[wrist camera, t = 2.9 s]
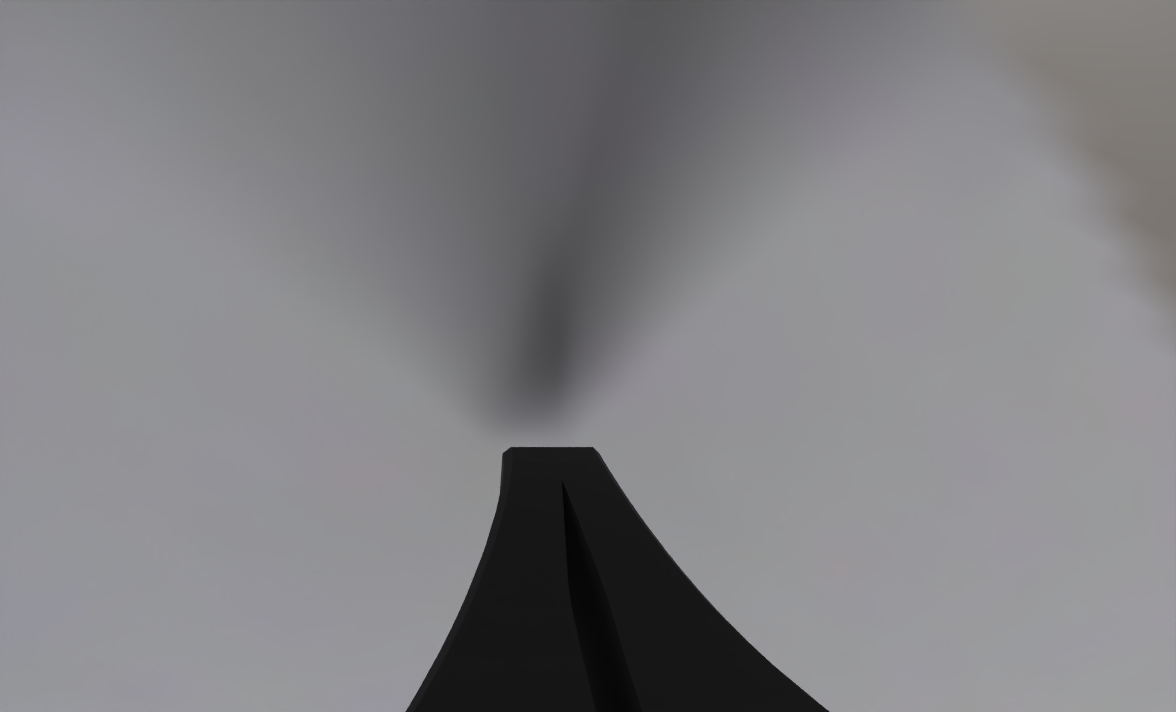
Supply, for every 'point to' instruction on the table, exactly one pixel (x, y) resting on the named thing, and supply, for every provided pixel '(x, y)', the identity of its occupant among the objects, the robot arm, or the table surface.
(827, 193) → the table surface
